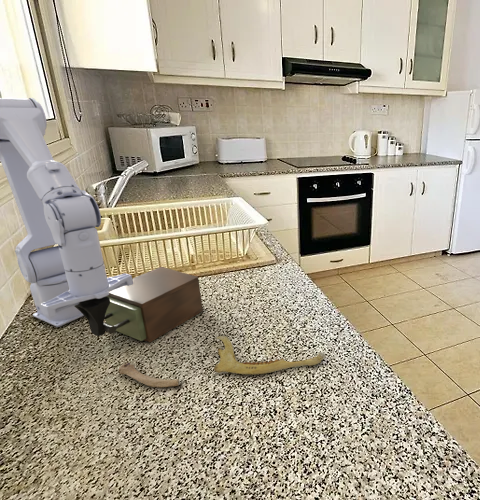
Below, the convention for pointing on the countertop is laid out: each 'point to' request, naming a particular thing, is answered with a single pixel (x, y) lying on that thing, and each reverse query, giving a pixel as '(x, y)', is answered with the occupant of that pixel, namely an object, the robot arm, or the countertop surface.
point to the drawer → (124, 319)
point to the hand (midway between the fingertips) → (100, 332)
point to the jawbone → (233, 366)
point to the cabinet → (162, 299)
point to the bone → (145, 377)
